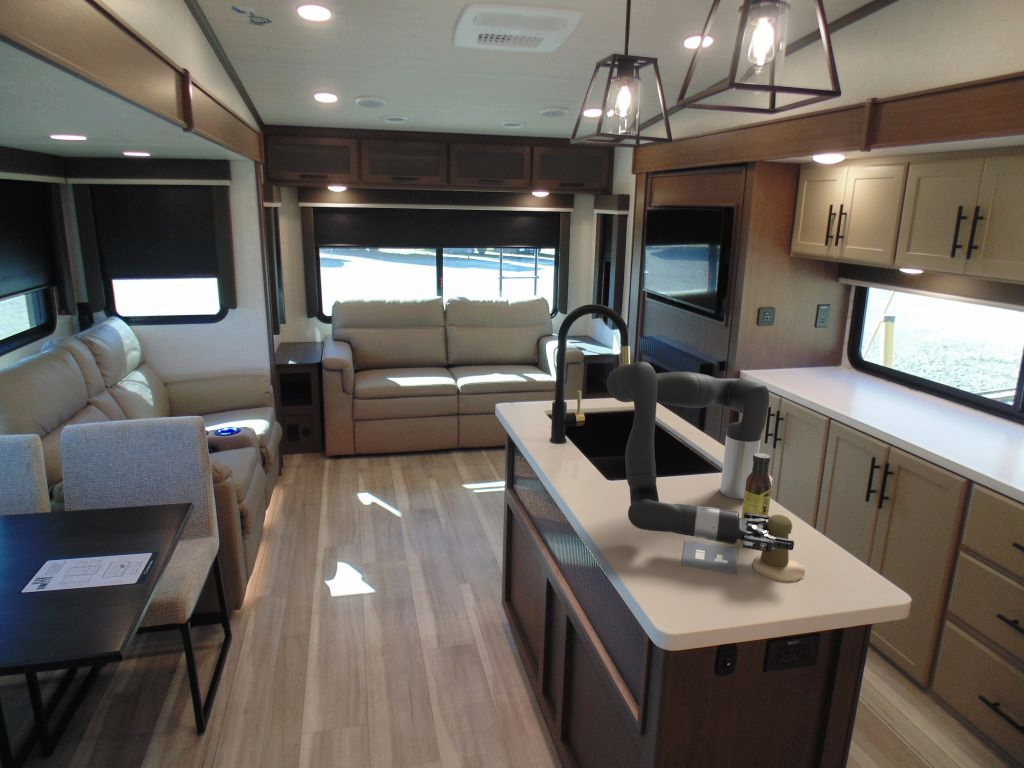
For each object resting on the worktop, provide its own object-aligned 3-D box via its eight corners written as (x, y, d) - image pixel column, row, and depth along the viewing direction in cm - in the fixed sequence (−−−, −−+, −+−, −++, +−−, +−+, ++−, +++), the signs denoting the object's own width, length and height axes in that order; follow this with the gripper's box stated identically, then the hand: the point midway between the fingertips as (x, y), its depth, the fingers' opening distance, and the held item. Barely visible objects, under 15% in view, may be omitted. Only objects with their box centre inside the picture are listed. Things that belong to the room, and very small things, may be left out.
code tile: (685, 541, 164) (685, 540, 164) (736, 549, 160) (736, 548, 160) (681, 565, 153) (681, 564, 153) (736, 574, 149) (736, 573, 149)
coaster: (752, 553, 159) (752, 550, 159) (802, 561, 156) (802, 558, 156) (753, 576, 149) (753, 573, 149) (806, 585, 146) (806, 583, 145)
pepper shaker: (792, 567, 152) (799, 526, 147) (765, 567, 152) (771, 526, 148) (783, 550, 157) (789, 510, 153) (757, 550, 157) (762, 510, 153)
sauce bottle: (764, 536, 167) (774, 462, 162) (738, 531, 170) (747, 457, 165) (767, 526, 173) (776, 453, 168) (741, 521, 175) (750, 449, 170)
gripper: (716, 523, 147) (797, 536, 142) (718, 497, 160) (792, 508, 155) (713, 554, 149) (792, 567, 144) (715, 526, 162) (788, 537, 157)
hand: (792, 537), depth 149 cm, fingers open, 7 cm apart
